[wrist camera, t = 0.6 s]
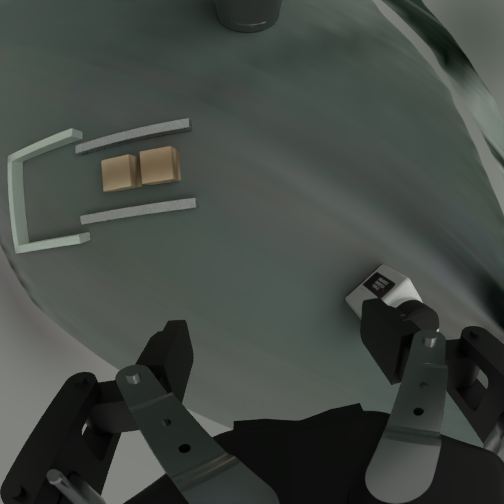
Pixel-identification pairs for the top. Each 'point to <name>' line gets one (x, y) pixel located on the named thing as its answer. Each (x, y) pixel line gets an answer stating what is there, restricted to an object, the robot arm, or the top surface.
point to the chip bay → (18, 194)
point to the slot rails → (129, 137)
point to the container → (394, 297)
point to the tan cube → (160, 165)
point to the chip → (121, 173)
